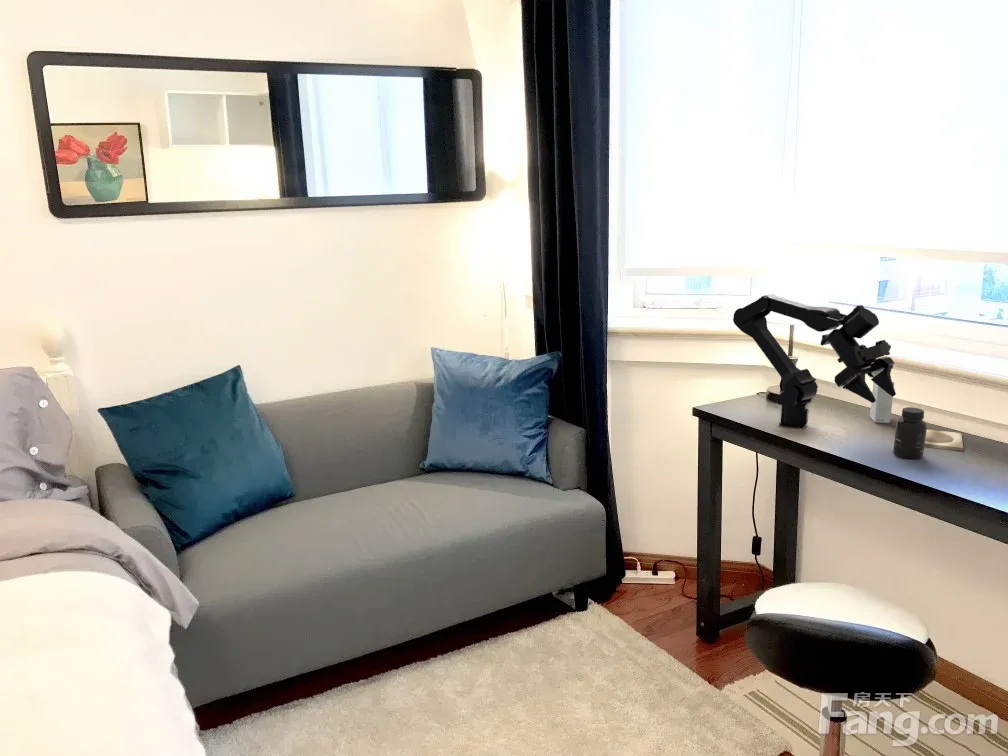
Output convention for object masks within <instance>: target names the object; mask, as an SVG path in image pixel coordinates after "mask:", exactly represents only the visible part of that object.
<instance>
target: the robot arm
mask: <svg viewBox="0 0 1008 756" xmlns="http://www.w3.org/2000/svg"><path fill="white" fill-rule="evenodd" d="M772 312H773V313H775V314H780V315H781V316H785V317H789V318H793V319H794V320H798V321H801V322H803V323H804V325H806V326H807V327H809V328H810V329H812V330H814V331H816V332H819V333H820V332H821V333H823V332H826V331H830V332H829V333H827V334H826V333H825V334H822V335H821V341H820V346H826V345H830V346H831V348H832V349H833V350H834V351H835V353H836V355H837V356H838V357H839V358H837V361H838V363H840V364H841V363H843V364H844V365H845V368H843V369H842V370H841V371H840V372H839V373H837V374H835V376H834V383H835V384H836V386H837V387H838V388H841V387H842V389H844V390H847V391H849V392H852V393H853V394H855V395H857V396H859V397H861V398H862V399H864V400H866V401H868V402H870V404H871V403H874V402H875V401H876V399H875V397H874V395H873V394H872V390H871V388H870V387H869V386H868V384H867V382H866V375H867V376H868V377H870V378H871V379H870V380H871V381H872V383H873V382H874V383H875V384H877V385H878V386H879V387H880V388H882V389H883V390H884V391H885V392H887V393H888V394H889V395H891V396H892V397H895V396H896V395H897V393H896V389H895V385H894V386H893V383H892V381H893V380H892V376H891V373H892V369H893V368H894V365H895V361H894V360H893V359H892V357H890V356H889V355H891V352H890V351H891V349H892V345H890V344H889V342H887V341H886V340H885V339H881V340H879V341H875V344H874V345H873V346H868V347H867V346H866V345H865V344H859V342H858V341H857V340H856V339H863V338H864V337H865V336H866V335H867V334H868V333H870V332H871V331H872V330H873V329H875V328H876V327H877V326H878V325H879V323H880V321H879V318H878V316H877V315H876V313H875V312H873V311H871V310H870V309H868V308H865V307H864V305H862V304H860V305H856V306H855V307H854V308H853V309H852V311H850V313H849V314H846V313H841V312H840V310H839V309H837V308H836V307H829V306H811V305H807V304H804V303H801V302H797V301H794V300H791V299H790V300H789V299H787V298H784V297H781V296H777V295H775V294H766V295H762V296H761V297H759V298H757V299H756V300H755V301H753V302H751V303H749V304H747V305H745V306H744V307H740V308H737V309H736V310H735V311H734V312H733V318H732V321H733V323H734V326H736V327H737V328H738V330H739V331H741V332H742V333H744V334H745V335H747V336H749V337H750V338H752V339H753V340H754V342H755V344H756V345H757V346H758V347H759V349H760V350H761V352H762V353H763V354H764V355H765V357H766V359H767V360H768V361H769V363H770V364H771V365H772V366H773V368H774V369H775V371H776V372H777V373H778V374H779V376H780V378H781V386H782V389H783V391H782V392H781V393H780V394H778V395H777V396H776V400H777V405H781V412H780V422H779V423H778V426H781V427H788V428H793V429H794V428H795V429H804V428H805V426H806V425H807V424H808V423H809V412H810V410H809V408H808V404H809V403H811V402H812V400H813V398H814V397H815V396H816V395H817V393H818V388H819V387H818V384H817V382H816V381H817V379H816V378H815V377H814V376H813V375H812V374H811V371H810V370H809V369H807V368H805V369H800V368H798V367H797V366H796V365H795V363H793V361H792V359H791V358H790V357H789V355H788V354H787V353H786V352H785V350H784V349H783V348H782V346H781V345H780V343H779V342H778V341H777V340H776V338H775V337H774V335H773V334H772V332H771V331H770V330H769V328H768V320H767V318H766V317H767V316H768V315H769V314H771V313H772ZM839 326H840V327H839ZM831 330H832V331H831Z"/></svg>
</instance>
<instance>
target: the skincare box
mask: <svg viewBox="0 0 1008 756" xmlns="http://www.w3.org/2000/svg"><path fill="white" fill-rule="evenodd" d="M892 383H893V386H894V387H895V381H893V380H892ZM871 392H872V394H873V395H874V397H875V399H876V401H875V402H874V403H871V402H870V411H869V418H871V420H872V421H873V422H874V423H877V424H883V423H884V424H890V423H891V417H892V408H893V407H892V406H893V399H894V398H893V397H894V396H893V397H892V396H891V395H889V394H888V393H887V392H885V391H884V390H883V389H882V388H880V387H879V386H878V385H877V384H875V383H874V382H873V381H872V390H871Z"/></svg>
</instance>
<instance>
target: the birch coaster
mask: <svg viewBox="0 0 1008 756" xmlns="http://www.w3.org/2000/svg"><path fill="white" fill-rule="evenodd" d="M925 447H926V448H935V449H943V450H952V451H960V452H963V451H964V444H963V436H962V433H961V432H954V431H945V430H936V429H927V431H926V439H925ZM925 447H924V448H925Z"/></svg>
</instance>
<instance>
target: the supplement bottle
mask: <svg viewBox="0 0 1008 756" xmlns="http://www.w3.org/2000/svg"><path fill="white" fill-rule="evenodd" d="M901 410H902V411H901V418H898V419H897V420H896V425H895V430H894V441H893V451H892V453H893V454H894V456H895V457H897V458H899V459H903V460H909V461H918V460H921V459H922V458H923V457H924V453H925V439H926V431H927V430H928V425H927V422H926V421H924V418H925V410H924V409H921V408H919V407H912V406H910V407H902V409H901Z"/></svg>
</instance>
